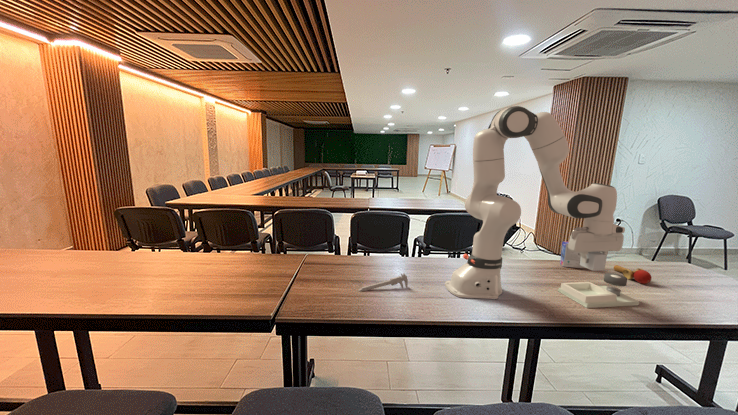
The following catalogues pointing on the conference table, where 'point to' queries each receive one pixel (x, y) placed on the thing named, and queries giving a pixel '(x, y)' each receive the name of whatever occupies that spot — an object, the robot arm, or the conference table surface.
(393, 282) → the caliper
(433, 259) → the conference table surface
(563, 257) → the ink cartridge box
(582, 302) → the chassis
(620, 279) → the wheel
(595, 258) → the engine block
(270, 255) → the conference table surface
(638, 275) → the kendama
